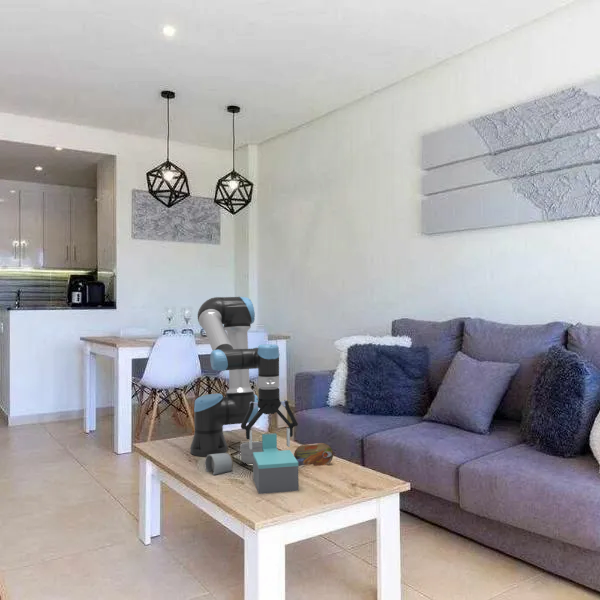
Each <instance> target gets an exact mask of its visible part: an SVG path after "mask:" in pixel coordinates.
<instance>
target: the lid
mask: <svg viewBox="0 0 600 600" xmlns="http://www.w3.org/2000/svg"><path fill="white" fill-rule="evenodd" d="M277 438H278V436H277V433H276V432H274V433H272V432H271V433H270V432H269V433H262V434H261V442H262V451H263V452H253V457H254V459H255V462H256V464H257V466H258V469H264V468H278V467H292V466H298V467H299V465H298V461H297V460H296V458H295V457H294V453H293V452H292V450H290V449H285V450H279V449H278V446H277V445H278V443H277V442H278V439H277Z"/></svg>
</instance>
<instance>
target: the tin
mask: <svg viewBox="0 0 600 600" xmlns="http://www.w3.org/2000/svg"><path fill="white" fill-rule="evenodd" d="M293 455H294V457H295V458H296V460H297V461H298V467H299V466H300V467H301V466H309V465H311V466H312V465H313V466H314V467H319V466H320V467H321V466H328V465H329V464H330V463H331V462H332V461H333V458H334V452H333V448H332V447H331V446H330V445H329V444H327V443H323V442H319V443H318V442H317V443H309V444H301V445H299V446H298V447H297V448H296V449H295V450H294V453H293Z"/></svg>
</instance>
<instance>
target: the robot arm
mask: <svg viewBox="0 0 600 600" xmlns="http://www.w3.org/2000/svg"><path fill="white" fill-rule="evenodd" d="M255 315H256V312H255V307H254V304H253V302H252V300H251V299H250V298H249V297H246V296H245V297H244V296H226V297H225V296H222V297H221V296H216V297H215V296H214V297H211V298H209V299H207V300H206V301H204V302H203V303H202V304H201V305H200V307H199V309H198V312H197V321H198V324H199V326H200V327H201V328H202V329H203V330H204V333H205V335H206V338H207V339H208V342H209V345H210V348H211V349H212V350H211V352H210V356H209V358H210V359H209V362H210V366H211V367H210V368H211V369H212V370H213V371H221V372H225V371H228V376H229V377H228V379H229V380H228V381H229V388H228V389H227V391H226V392H225V394H226V396H223V394H222V393H211V394H209V393H208V394H205V395H200V396H199V397H197V398H196V399H195V400H194V409H193V412H194V415H193V416H194V417H193V419H194V423H193V424H194V434H193V438H192V442H191V444H190V448H189V449H190V451H189V452H190V454H191V455H193V456H197V457H207V456H208V455H209V454H219V453H227V452H228V444H227V440H226V438H225V435H224V430H223V429H224V426H230V425H231V426H232V425H238V424H239V425H240V424H241V425H240V428H241V429H242V430H245V438H246V440H248V442H249V448H250V449H252V442H253V430H252V428H253V427H254V425H255V423H257V421H258V420H259V419H260V418H261V417H262V415H263V414H264V415H269V414H270V415H275V413H276V414H277V415H278V416H279V417H280V418H281V419H282V421H283V422H284V423H285V424H286V425H287V426H286V446H287V447H288V448H290V447H291V438H292V437H293V435H294V432H293V431H294V429H293V428H294V427H298V421H297V420H296V417H295V416H294V414H293V412H292V410H291V408H290V404H289V403H290V402H289V400H287V399H284V400H282V401H281V400H280V396H281V395H280V350H279V345H278V344H275V343H274V344H272V343H271V344H270V343H268V344H267V343H266V344H260V345H258V347H253V348H249V341H248V340H249V339H248V335H249V334H248V332H249V330H250V329H251V326H252V324H254V322H255V317H256V316H255ZM255 369H256V370H257V375H258V376H257V377H258V378H257V381H258V383H257V384H258V391H257V393H258V395H257V394H255V393H254V390H253V389H252V388H251V386H250V384H251V383H250V370H255ZM281 405H282V407H283V408H284V409H285V411H286V413H287V414H288V415H289V419H290V420H291V421H292V422H290V421H289V420H288V418H287V417H286V416H285V415H284V414H283V413H282V412H281V411H280V410H279V408H280V407H281Z"/></svg>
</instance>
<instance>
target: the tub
mask: <svg viewBox="0 0 600 600" xmlns="http://www.w3.org/2000/svg"><path fill="white" fill-rule="evenodd" d="M252 480H253V482H254V485H255V488H256V490H257V493H258V494H259V495H261V494H264V495H265V494H274V493H275V494H276V493H288V492H290V493H291V492H299V487H300V486H299V465H298V466H292V467H278V468H264V469H258V466H257V464H256V462H255V459H254V457H253V466H252Z"/></svg>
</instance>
